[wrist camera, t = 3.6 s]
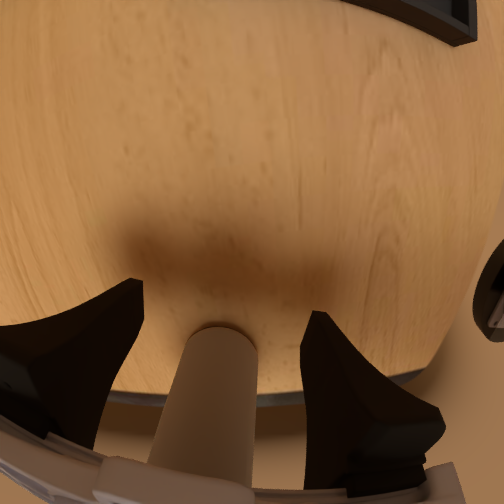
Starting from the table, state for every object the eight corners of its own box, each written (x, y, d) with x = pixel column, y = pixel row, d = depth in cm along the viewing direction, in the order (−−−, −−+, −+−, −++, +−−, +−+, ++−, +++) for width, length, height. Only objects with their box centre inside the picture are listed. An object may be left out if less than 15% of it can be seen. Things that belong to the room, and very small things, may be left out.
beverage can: (187, 370, 20) (146, 525, 9) (183, 317, 18) (118, 501, 7) (255, 377, 20) (245, 541, 9) (262, 325, 18) (252, 526, 7)
